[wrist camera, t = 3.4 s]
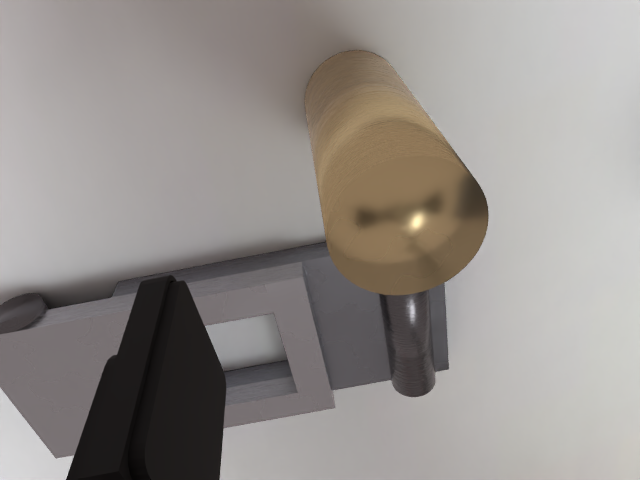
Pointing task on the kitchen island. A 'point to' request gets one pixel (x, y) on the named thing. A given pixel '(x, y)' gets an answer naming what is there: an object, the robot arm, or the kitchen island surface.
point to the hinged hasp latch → (222, 306)
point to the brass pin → (388, 180)
